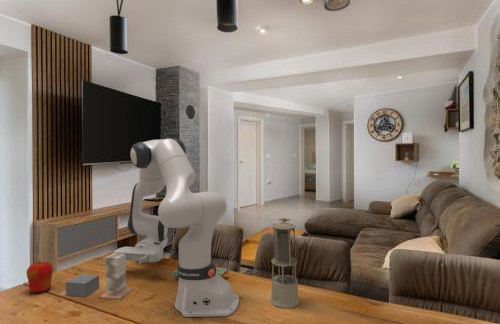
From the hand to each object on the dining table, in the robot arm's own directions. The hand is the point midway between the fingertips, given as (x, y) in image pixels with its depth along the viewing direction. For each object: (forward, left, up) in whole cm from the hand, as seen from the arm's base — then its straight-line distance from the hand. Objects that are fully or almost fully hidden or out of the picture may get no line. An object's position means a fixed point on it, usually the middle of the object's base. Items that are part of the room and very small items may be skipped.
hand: (127, 260), depth 127 cm
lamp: (-63, +2, -10) cm, 64 cm away
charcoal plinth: (+14, +8, -10) cm, 19 cm away
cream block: (0, +8, -9) cm, 12 cm away
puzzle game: (-27, -10, -10) cm, 31 cm away
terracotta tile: (0, +8, -10) cm, 13 cm away
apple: (+31, +10, -10) cm, 34 cm away
